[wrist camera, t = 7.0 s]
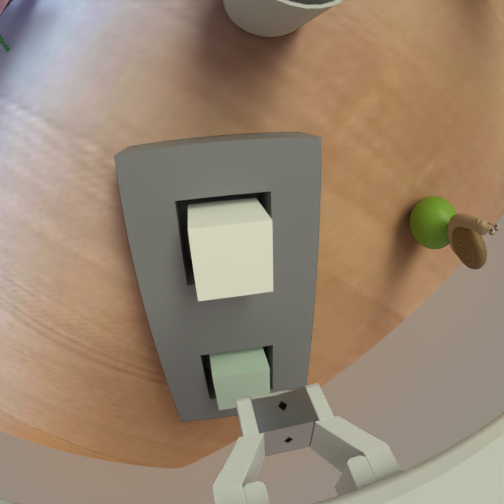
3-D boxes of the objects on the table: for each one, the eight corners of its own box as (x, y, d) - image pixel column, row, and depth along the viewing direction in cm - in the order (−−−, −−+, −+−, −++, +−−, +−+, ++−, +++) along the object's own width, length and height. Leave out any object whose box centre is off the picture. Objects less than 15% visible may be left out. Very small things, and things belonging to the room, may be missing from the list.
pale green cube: (258, 333, 31) (269, 368, 26) (259, 367, 33) (269, 402, 28) (207, 340, 30) (212, 377, 25) (213, 374, 32) (218, 410, 28)
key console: (298, 131, 25) (321, 137, 21) (292, 373, 37) (304, 402, 33) (128, 146, 23) (114, 155, 18) (180, 389, 35) (181, 421, 31)
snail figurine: (428, 173, 29) (513, 211, 18) (439, 221, 32) (513, 269, 21) (391, 196, 29) (475, 246, 19) (406, 245, 32) (477, 302, 22)
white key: (255, 197, 23) (272, 220, 19) (258, 258, 25) (273, 291, 21) (187, 204, 22) (187, 229, 18) (195, 265, 25) (198, 301, 20)
